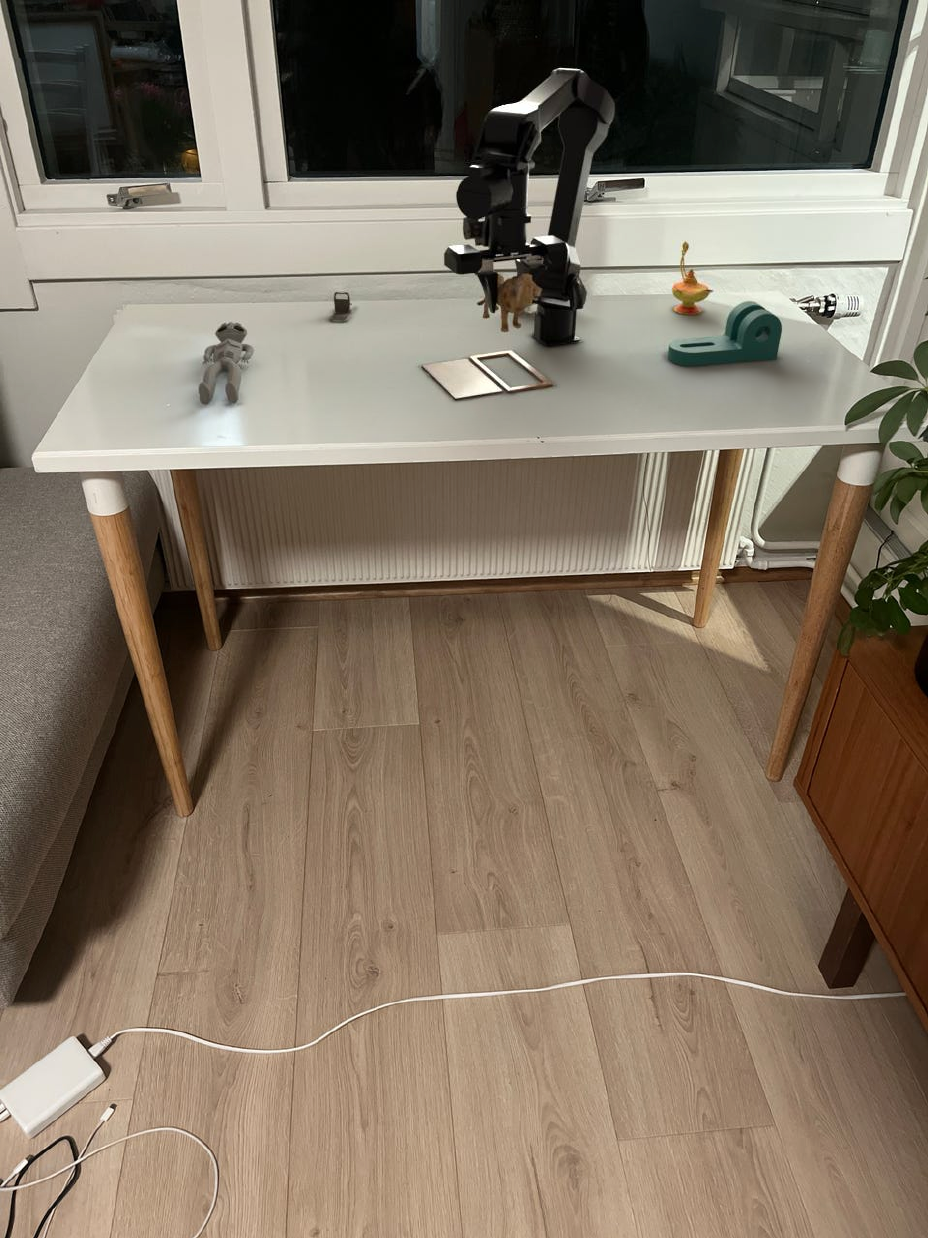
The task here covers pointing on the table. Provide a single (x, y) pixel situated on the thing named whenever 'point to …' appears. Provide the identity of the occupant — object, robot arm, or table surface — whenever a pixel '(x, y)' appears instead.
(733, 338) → the bracket
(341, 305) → the strap clip
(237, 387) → the alien figure
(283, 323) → the table surface
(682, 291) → the magic lamp
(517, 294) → the lion figurine
